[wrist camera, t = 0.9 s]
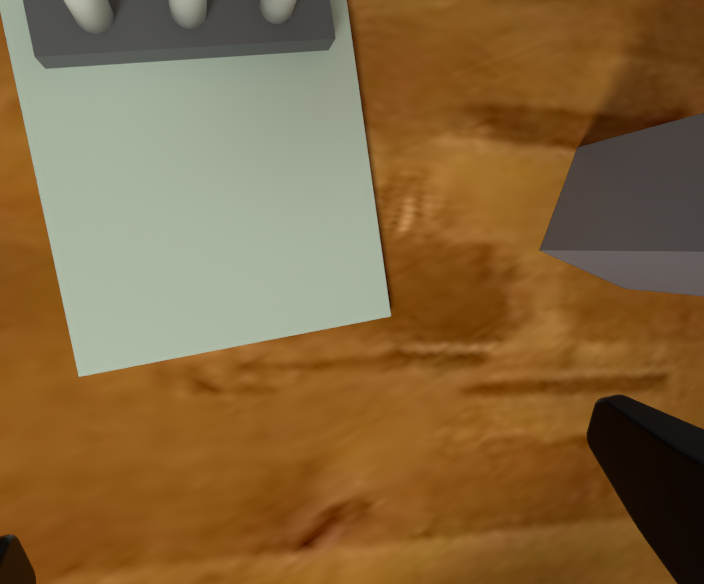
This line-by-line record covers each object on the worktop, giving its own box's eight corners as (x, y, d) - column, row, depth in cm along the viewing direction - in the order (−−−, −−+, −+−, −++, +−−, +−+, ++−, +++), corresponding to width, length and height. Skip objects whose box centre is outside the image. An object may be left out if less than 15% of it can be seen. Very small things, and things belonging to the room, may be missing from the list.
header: (388, 315, 23) (448, 338, 17) (81, 374, 20) (27, 426, 14) (330, -90, 21) (377, -221, 15) (-18, -90, 18) (-128, -252, 12)
